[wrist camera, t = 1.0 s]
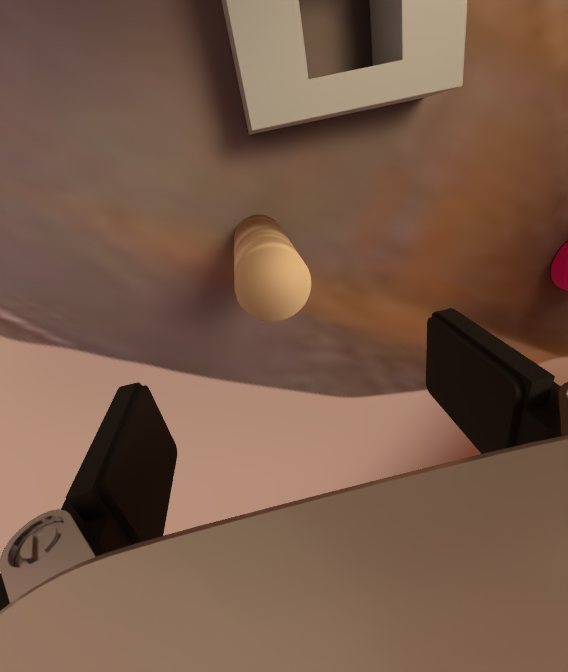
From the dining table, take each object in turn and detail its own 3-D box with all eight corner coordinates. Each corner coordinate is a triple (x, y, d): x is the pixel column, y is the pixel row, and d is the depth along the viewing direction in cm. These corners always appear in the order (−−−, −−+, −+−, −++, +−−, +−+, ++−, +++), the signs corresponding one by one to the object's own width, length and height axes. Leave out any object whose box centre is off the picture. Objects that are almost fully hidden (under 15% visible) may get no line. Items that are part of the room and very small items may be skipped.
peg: (278, 209, 29) (305, 239, 18) (287, 259, 31) (316, 312, 20) (228, 220, 29) (225, 257, 18) (240, 270, 31) (244, 328, 20)
